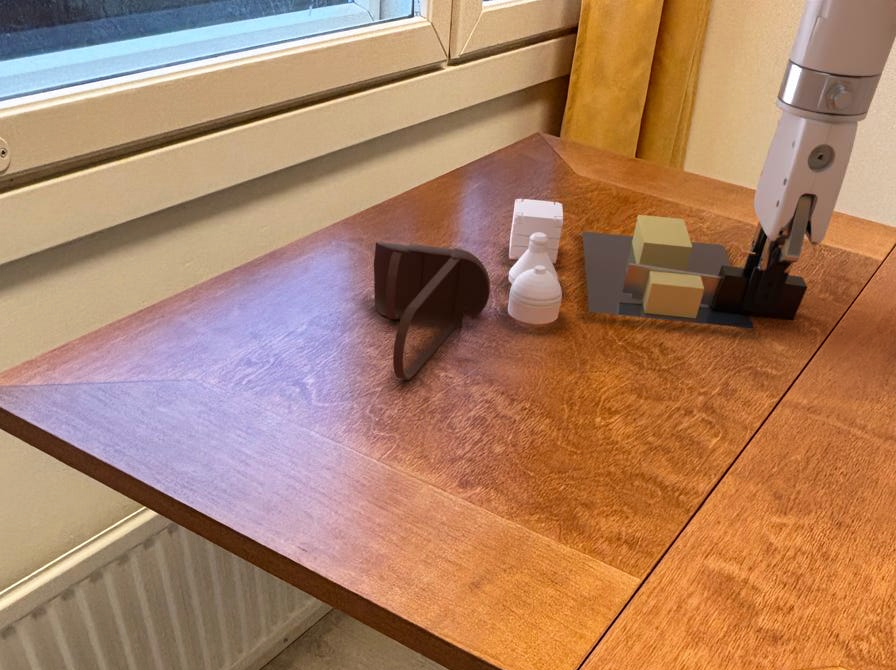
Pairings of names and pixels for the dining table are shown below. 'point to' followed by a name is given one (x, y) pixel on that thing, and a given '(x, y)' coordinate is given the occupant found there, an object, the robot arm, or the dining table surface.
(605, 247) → the slate board
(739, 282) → the knife
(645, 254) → the butter block
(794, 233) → the robot arm
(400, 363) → the brown basket
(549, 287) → the container set
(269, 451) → the dining table surface
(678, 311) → the butter pat
